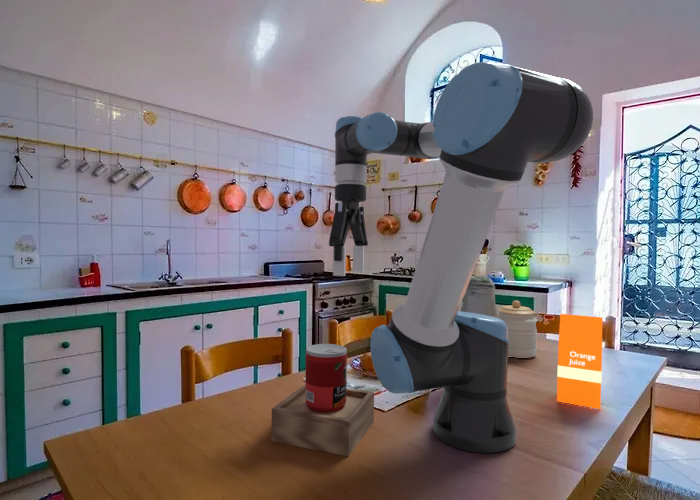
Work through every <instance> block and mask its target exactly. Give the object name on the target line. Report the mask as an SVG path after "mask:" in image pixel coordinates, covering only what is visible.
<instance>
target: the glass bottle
mask: <svg viewBox="0 0 700 500" xmlns="http://www.w3.org/2000/svg"><path fill="white" fill-rule="evenodd" d="M459 311H461V312H469V313H476V314H482V315H487V316H491V317H495V318H498V314H499V312H498V309H497V305H496V286H495V282H494V281H493V280H492V279H491V278H490V277H488V276H483V275H480V276H479V275H478V276H477V275H475V276H471V279H470V282H469V284H468V287H467V289H466V292H465V295H464V297H463V300H462V302H461V306H460V309H459Z"/></svg>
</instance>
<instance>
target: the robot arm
mask: <svg viewBox="0 0 700 500" xmlns="http://www.w3.org/2000/svg"><path fill="white" fill-rule="evenodd" d="M593 121H594V109H593V106H592V102H591V100H590V96H588V94H587V93H586V92H585V90H584V89H583V88H582V86H579V85H578V84H577V83H575V82H573V81H571V80H569V79H567V78H562V77H561V76H560V77H559V76H552V75H549V74H545V73H541V72H537V71H533V70H528V69H524V68H520V67H517V66H514V65H510V64H508V63H506V64H505V63H495V62H488V61H487V62H486V61H481V62H480V61H478V62H474V63H471V64H470V65H469V64H468V65H467V66H464V68H462V69H461V70H460V71H459V72H458V74H455V75H454V76H453V77H452V78H451V79H450V80H449V81H448V83H447V84H446V86H445V87H444V89H443V90H442V92H441V95H440V96H439V98H438V99H437V103H436V106H435V109H434V113H433V118H432V121H428V122H421V123H419V122H409V121H403V120H396V119H394V118H393V117H392V116H390V114H387V112H383V111H377V112H373V113H370V114H367V115H365V116H363V117H362V116H356V115H347V116H342V117H340V118H338V119H337V121H336V124H335V132H334V138H335V143H334V146H335V147H334V149H335V153H334V156H335V157H334V158H335V160H334V161H335V165H334V166H335V167H334V168H335V169H334V170H335V171H333V175H334V181H335V182H334V183H336V185H335V186H334V200H335V201H336V203H335V205H334V214H333V218H332V225H331V230H330V234H329V239H328V245H329V247H333V249H332V250H333V251H332V252H333V254H332V255H333V256H332V277H333V276H334V277H346V272H347V271H346V265H347V264H346V263H347V262H346V261H347V260H346V258H347V257H346V255H347V248H346V247H347V246H345V243H346V241H347V237H348V233H349V231H351V234H352V238H353V239H352V240H353V243H354V245H353V247H352V248H353V249H352V272H360V273H361V272H362V273H364V272H365V247H368V245H369V242H368V237H367V236H368V235H367V229H366V221H365V208H364V206H360V204H359V203H360V202H361V203H362V202H366V201H367V186H366V185H365V184H367V181H368V179H367V177H368V175H367V172H368V170H367V169H368V168H367V167H368V166H367V165H368V163H367V159H368V155H371V154H380V155H390V156H399V157H401V156H402V157H407V158H408V157H411V158H416V159H417V158H418V159H423V160H438V159H439V161H440V163H441V165H442V166H443V168H444V171H445V174H444V178H443V181H442V184H441V187H440V189H439V190H440V191H439V193H438V197H437V200H436V204H435V207H434V210H433V213H432V215H431V220H430V222H429V225H428V229H427V232H426V234H425V238H424V241H423V244H422V245H423V246H422V248H421V251H420V254H419V258H418V261H417V264H416V267H415V271H414V274H413V276H412V279H411V283H410V286H409V290H408V293H407V296H406V299H405V302H402V303H401V304H399V305H397V306H396V307H395V308H394V310H393V311H392V313H391V317H390V320H389V323H388V324H387V325H385V324H381V325H380V326H378V327H375V328H374V329H373V331H372V333H371V336H370V342H369V343H370V345H369V346H370V357H371V361H372V366H373V369H374V372H375V373H376V376H377V379H378V380H379V382H380V384H381V385H382V386H383V388H384V389H385V390H387V391H388V392H389V393H391V394H395V395H396V394H413V393H417V392H422V391H429V390H435V389H440V388H443V389H442V393H441V397H440V399H439V402H438V405H437V408H436V410H435V413H434V417H433V433H434V435H435V436H436V437H437V438H438V439H439V441H441V442H443V443H445V444H446V445H448V446H450V447H453V448H456V449H458V450H463V451H468V452H472V453H479V454H481V453H483V454H494V453H501V452H505V451H507V450H511V448H513V447H514V446H515V445H516V441H517V440H516V439H517V429H516V425H515V421H514V418H513V414H512V411H511V408H510V405H509V402H508V397H507V395H508V391H507V390H508V364H509V363H508V362H509V357H508V344H509V340H508V327H507V325H506V323H505V322H504V321H503V320H501V319H499V318H495V317H491V316H487V315H482V314H476V313H469V312H461V311H460V309H461V306H462V303H463V299H464V295H465V292H466V289H467V287H468V284H469V282H470V279H471V277H473V274H474V271H475V268H476V266H477V263H478V261H479V258H480V255H481V253H482V250H483V248H484V245H485V242H486V240H487V238H488V235H489V231H490V229H491V227H492V224H493V221H494V219H495V216H496V214H497V212H498V208H499V206H500V203H501V200H502V198H503V196H504V192H505V191H506V189H509V187H511V186H514V185H516V184H518V183H519V182H521V180H522V177H523V175H524V173H525V171H526V168H527V165H528V163H537V164H538V163H540V164H541V163H544V164H547V163H553V162H558V161H561V160H563V159H566V158H568V157H569V156H571V155H573V154H574V153H575V152H576V151H578V150H579V149H580V147H581V146H582V145H583V144H584V143H585V142H586V140H587V139H588V137H589V135H590V133H591V130H592V126H593Z"/></svg>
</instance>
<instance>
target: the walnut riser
mask: <svg viewBox="0 0 700 500" xmlns="http://www.w3.org/2000/svg"><path fill="white" fill-rule="evenodd" d="M374 405H375V392H374V391H370V390H369V391H368V390H363V389H362V390H361V389H356V388H355V389H354V388H347V387H346V404H345V407H344V408H343V409H341V410H339V411H335V412H316V411H313V410H311V409H309V408H308V407H307V405H306V401H305V384H304V385H302V386H301V387H300V388H298V389H297V390H295V391H293V392H292V393H291V394H290V395H288V396H287V397H285V398H284V399H283V400H281V401H280V402H279V403H277V404H276V405H275V406H273V407H272V408H271V440H270V441H271V442H273V443H274V442H275V443H278V444H284V445H289V446H295V447H300V448H304V449H309V450H310V449H311V450H314V451H320V452H326V453H330V454H335V455H338V456H339V455H340V456H345V457H349V456H350V455H351V454H352V452H353V451H354V449H355V448H356V447H357V445H358V444H359V442H360V441H361V440H362V438H363V437H364V436H365V434H366V433H367V432H368V430H369V429H370V427H371V426H372V424H373V423H375V422H374V420H375V406H374Z"/></svg>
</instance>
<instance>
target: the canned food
mask: <svg viewBox="0 0 700 500" xmlns="http://www.w3.org/2000/svg"><path fill="white" fill-rule="evenodd" d="M347 350H348V349H347V347H346V346H343V345H339V344H334V343H318V344H317V343H316V344H312V345H310V346H307V347H306V349H305V378H304V379H305V382H304V385H305V401H306V405H307V407H308V408H309V409H311V410H313V411H316V412H335V411H339V410H341V409H343V408H344V407H345V404H346V388H347V378H348V377H347V376H348V351H347Z"/></svg>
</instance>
